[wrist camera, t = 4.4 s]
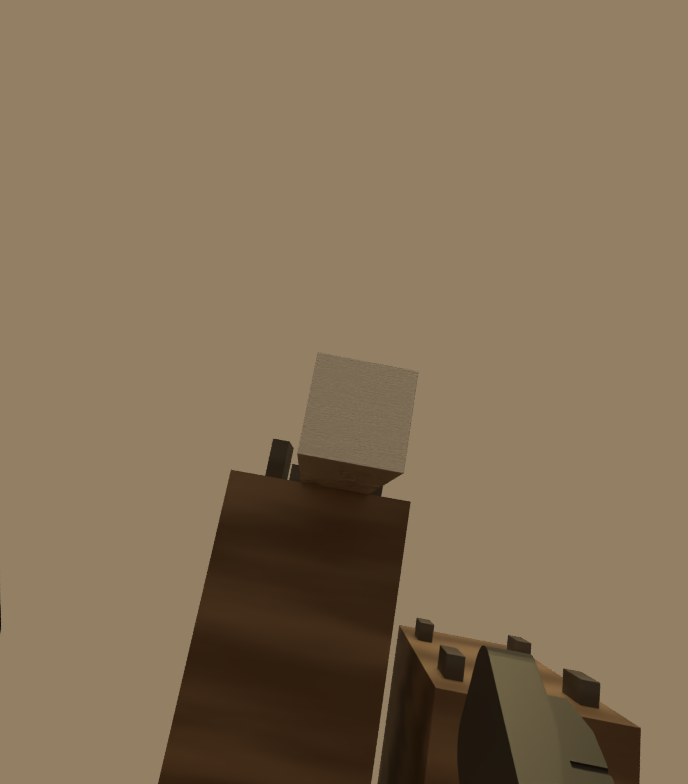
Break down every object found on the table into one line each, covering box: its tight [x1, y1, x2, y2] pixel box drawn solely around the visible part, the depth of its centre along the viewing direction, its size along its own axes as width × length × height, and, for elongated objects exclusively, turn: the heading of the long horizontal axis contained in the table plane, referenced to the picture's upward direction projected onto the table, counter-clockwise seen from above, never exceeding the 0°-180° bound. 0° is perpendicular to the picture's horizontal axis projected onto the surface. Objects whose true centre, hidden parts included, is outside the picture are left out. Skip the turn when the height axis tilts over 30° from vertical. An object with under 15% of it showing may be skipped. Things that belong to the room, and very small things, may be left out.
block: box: [297, 353, 418, 494], centre depth 27 cm, size 24×3×3 cm, turn 4°
